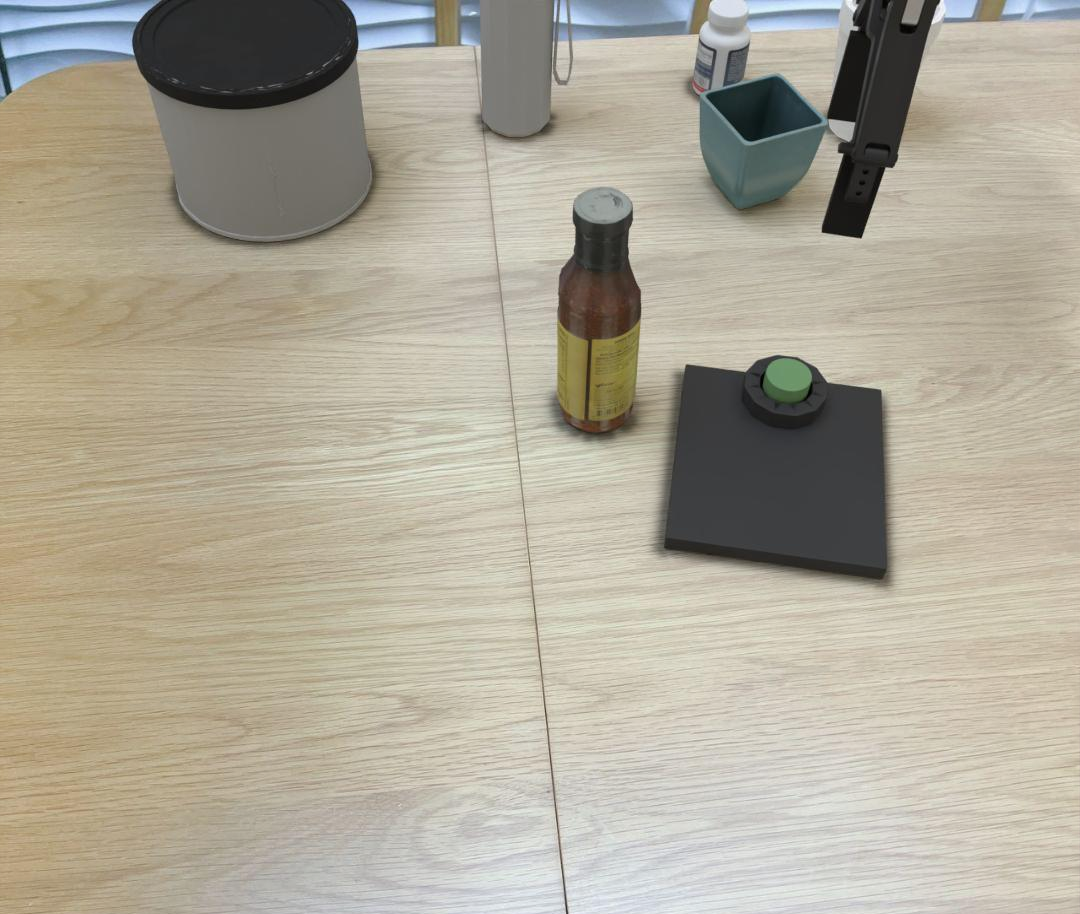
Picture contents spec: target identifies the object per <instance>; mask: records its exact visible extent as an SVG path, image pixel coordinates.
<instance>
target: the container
mask: <svg viewBox="0 0 1080 914" xmlns="http://www.w3.org/2000/svg"><path fill="white" fill-rule="evenodd" d="M359 41H360V40H359V33H358V25H357V20H356V17H355V15H354V13H353V11H352V9H351V8H350V6H348V4H347V3H346V2H344V1H343V0H160V1H159V2H157V3H156V4H154V5H153V6H152V7H150V9H148V10H147V11H146V12H145V13H144V14H143V15H142V16H141V18H139V21H138V22H137V24H136V26H135V28H134V30H133V34H132V39H131V46H132V52H133V55H134V58H135V62H136V65H137V68H138V70H139V72H140V74H141V76H142V77H143V79H144V80H145V81H146V84H147V88H148V91H149V95H150V97H151V102H152V105H153V108H154V112H155V115H156V118H157V122H158V125H159V129H160V133H161V137H162V140H163V143H164V146H165V147H164V148H165V150H166V153H167V156H168V161H169V163H170V167H171V170H172V174H173V177H174V181H175V191H176V195H177V198H178V201H179V204H180V205H181V207H182V209H183V210H184V213H186V215H187V216H188V217H190V219H191V220H193V222H195V223H196V224H198V225H199V226H201V227H202V228H204V229H206V230H208V231H210V232H211V233H215V234H217V235H220V236H223V237H226V238H230V239H234V240H241V241H246V242H261V243H262V242H264V243H265V242H267V243H268V242H282V241H289V240H296V239H300V238H305V237H308V236H311V235H314V234H317V233H320V232H322V231H325V230H327V229H329V228H331V227H333V226H336V225H337V224H340V222H342V221H343V220H345V219H346V218H348V217H349V216H350V215H351V214H353V213H354V212H355V211H356V210H357V209H358V208H359V207H360V206H361V205H362V203H363V202H364V201H365V199H366V198H367V195H368V193H369V191H370V189H371V185H372V181H373V171H372V164H371V161H370V158H369V150H368V141H367V135H366V127H365V118H364V109H363V101H362V95H361V94H362V93H361V83H360V76H359V68H358V59H357V56H358V55H357V54H358V50H359V45H360V43H359Z"/></svg>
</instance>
